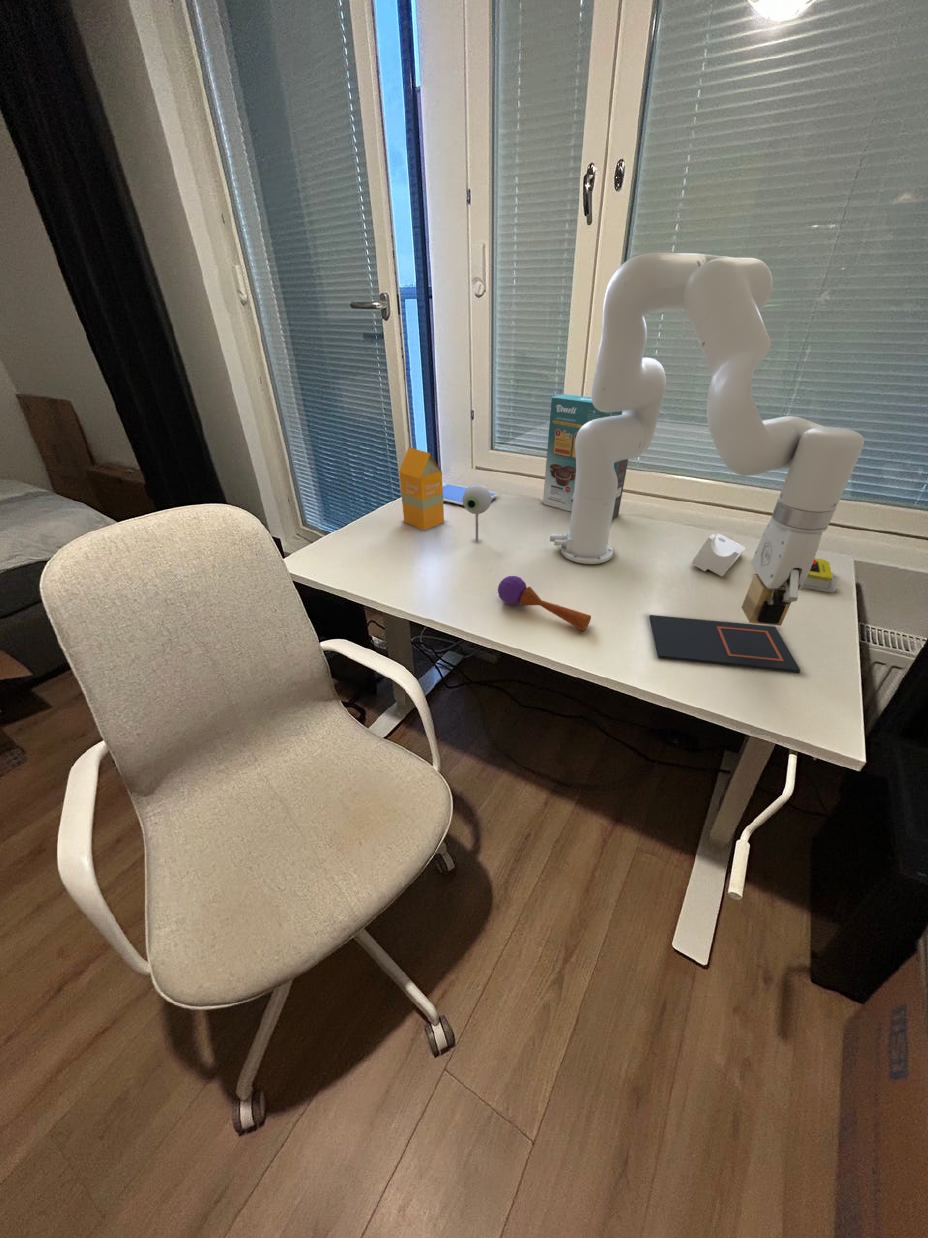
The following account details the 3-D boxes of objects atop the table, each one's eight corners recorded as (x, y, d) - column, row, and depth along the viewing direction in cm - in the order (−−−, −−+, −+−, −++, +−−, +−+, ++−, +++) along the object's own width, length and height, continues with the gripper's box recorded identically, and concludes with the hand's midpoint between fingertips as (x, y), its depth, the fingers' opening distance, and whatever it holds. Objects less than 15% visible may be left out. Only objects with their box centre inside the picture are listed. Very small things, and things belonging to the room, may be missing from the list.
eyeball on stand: (459, 545, 124) (457, 488, 115) (469, 533, 129) (468, 479, 121) (484, 549, 122) (485, 491, 113) (494, 537, 127) (495, 482, 118)
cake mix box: (618, 515, 138) (638, 403, 121) (608, 522, 134) (627, 407, 117) (553, 498, 150) (563, 393, 133) (542, 503, 146) (551, 397, 129)
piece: (749, 623, 82) (765, 581, 78) (741, 607, 86) (756, 567, 82) (781, 625, 82) (799, 584, 77) (771, 609, 86) (788, 569, 81)
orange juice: (423, 513, 141) (419, 444, 130) (444, 522, 136) (441, 450, 124) (403, 521, 136) (396, 450, 125) (424, 530, 131) (419, 456, 120)
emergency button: (844, 575, 100) (763, 560, 105) (835, 593, 102) (756, 578, 108) (839, 556, 106) (763, 544, 112) (831, 574, 109) (757, 560, 115)
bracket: (719, 579, 109) (738, 553, 104) (691, 563, 112) (708, 537, 107) (737, 559, 117) (756, 534, 112) (710, 544, 120) (727, 519, 115)
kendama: (581, 622, 88) (492, 582, 97) (577, 643, 92) (492, 603, 101) (596, 603, 91) (508, 566, 100) (592, 624, 95) (508, 587, 105)
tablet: (425, 498, 151) (425, 494, 150) (447, 486, 160) (447, 482, 159) (477, 510, 142) (477, 506, 142) (498, 497, 151) (498, 493, 150)
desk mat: (658, 658, 85) (659, 655, 85) (649, 617, 96) (650, 614, 96) (799, 673, 82) (800, 669, 81) (774, 628, 92) (775, 625, 92)
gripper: (758, 493, 81) (726, 586, 91) (795, 536, 67) (753, 639, 77) (807, 496, 80) (769, 589, 90) (855, 539, 66) (804, 644, 76)
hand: (762, 612), depth 84 cm, fingers closed on piece, 5 cm apart
